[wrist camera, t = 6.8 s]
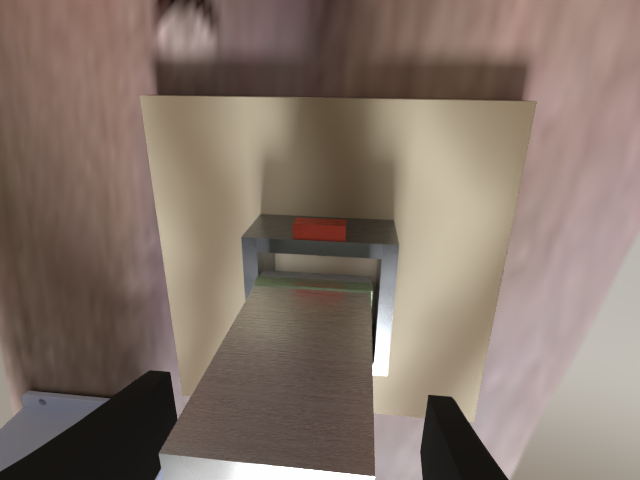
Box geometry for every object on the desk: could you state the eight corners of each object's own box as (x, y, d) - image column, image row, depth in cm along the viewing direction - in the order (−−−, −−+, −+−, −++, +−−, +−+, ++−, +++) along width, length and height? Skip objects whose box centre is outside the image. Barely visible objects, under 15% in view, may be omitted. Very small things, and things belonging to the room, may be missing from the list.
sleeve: (265, 326, 20) (249, 364, 17) (260, 201, 18) (240, 222, 15) (384, 335, 20) (387, 376, 17) (394, 206, 17) (400, 229, 14)
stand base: (193, 377, 24) (182, 395, 22) (157, 94, 18) (139, 95, 17) (466, 401, 22) (473, 422, 21) (522, 100, 16) (536, 101, 15)
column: (265, 359, 16) (181, 586, 9) (261, 268, 15) (155, 451, 7) (366, 367, 16) (365, 612, 8) (372, 275, 14) (378, 475, 7)
